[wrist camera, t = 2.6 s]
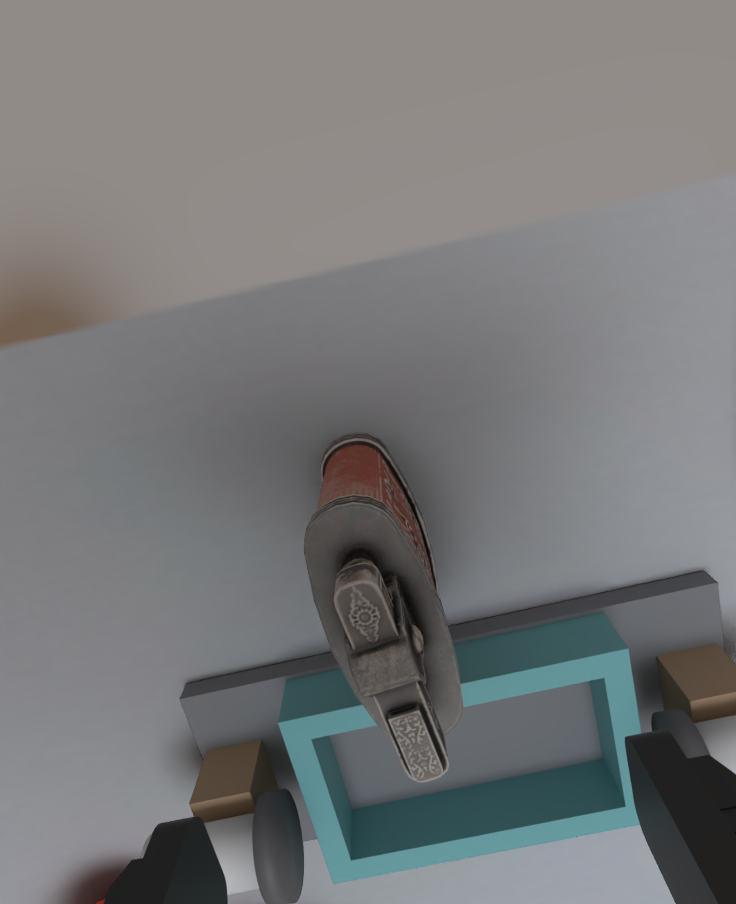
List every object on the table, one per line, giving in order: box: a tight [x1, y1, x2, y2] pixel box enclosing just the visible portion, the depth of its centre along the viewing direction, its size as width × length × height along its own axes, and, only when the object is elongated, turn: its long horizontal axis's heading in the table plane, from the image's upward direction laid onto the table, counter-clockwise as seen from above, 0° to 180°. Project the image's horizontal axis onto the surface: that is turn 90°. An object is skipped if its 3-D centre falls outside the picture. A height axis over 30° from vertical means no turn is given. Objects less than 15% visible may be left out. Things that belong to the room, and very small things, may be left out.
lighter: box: [304, 433, 463, 783], centre depth 20 cm, size 8×3×10 cm, turn 20°
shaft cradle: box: [141, 571, 736, 904], centre depth 24 cm, size 24×8×7 cm, turn 104°
